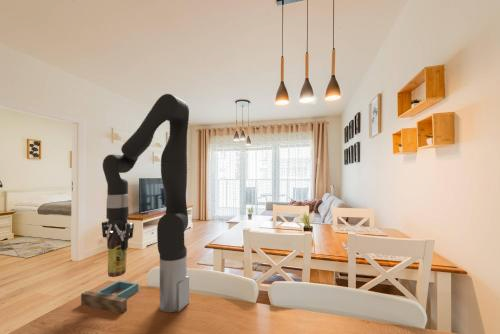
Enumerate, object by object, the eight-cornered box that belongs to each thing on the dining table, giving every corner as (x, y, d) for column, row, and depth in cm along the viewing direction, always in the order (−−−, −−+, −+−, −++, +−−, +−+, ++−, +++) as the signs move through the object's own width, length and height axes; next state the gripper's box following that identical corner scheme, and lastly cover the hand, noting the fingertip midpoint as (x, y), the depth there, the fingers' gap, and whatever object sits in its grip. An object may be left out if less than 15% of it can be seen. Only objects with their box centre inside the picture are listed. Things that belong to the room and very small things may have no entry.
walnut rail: (126, 310, 81) (126, 298, 81) (121, 313, 79) (121, 301, 79) (86, 301, 86) (86, 290, 87) (81, 304, 85) (81, 293, 85)
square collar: (138, 291, 94) (138, 283, 94) (114, 305, 84) (114, 297, 84) (119, 287, 97) (119, 280, 97) (94, 301, 87) (94, 293, 87)
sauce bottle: (117, 278, 87) (118, 224, 87) (103, 277, 88) (104, 224, 89) (130, 271, 93) (130, 221, 94) (116, 270, 94) (117, 220, 95)
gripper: (139, 205, 93) (139, 248, 92) (112, 204, 97) (111, 244, 97) (124, 207, 86) (123, 254, 85) (95, 206, 90) (94, 250, 89)
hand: (117, 249), depth 91 cm, fingers closed on sauce bottle, 6 cm apart
